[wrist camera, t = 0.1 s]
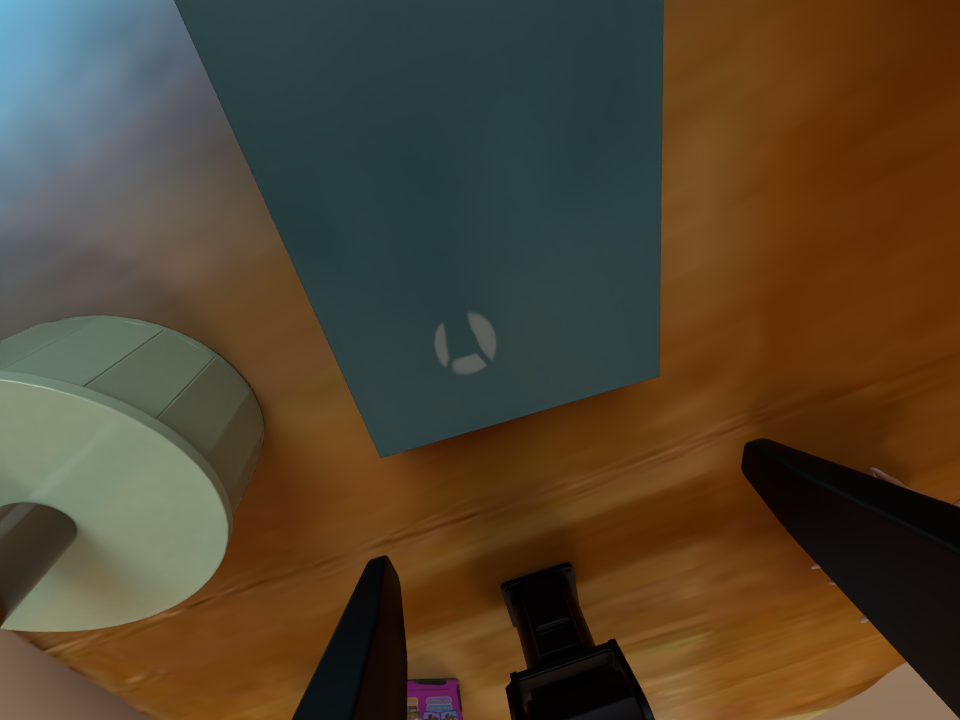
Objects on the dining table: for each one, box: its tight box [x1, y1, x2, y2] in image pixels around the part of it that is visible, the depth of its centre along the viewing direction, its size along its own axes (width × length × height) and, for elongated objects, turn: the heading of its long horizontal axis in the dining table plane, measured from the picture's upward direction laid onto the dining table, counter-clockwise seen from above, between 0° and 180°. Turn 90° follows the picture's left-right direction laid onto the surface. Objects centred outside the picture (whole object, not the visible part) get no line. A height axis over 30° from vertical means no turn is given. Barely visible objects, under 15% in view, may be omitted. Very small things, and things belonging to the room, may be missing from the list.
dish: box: [0, 315, 264, 516], centre depth 19 cm, size 13×13×6 cm
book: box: [174, 0, 664, 458], centre depth 18 cm, size 20×16×4 cm
